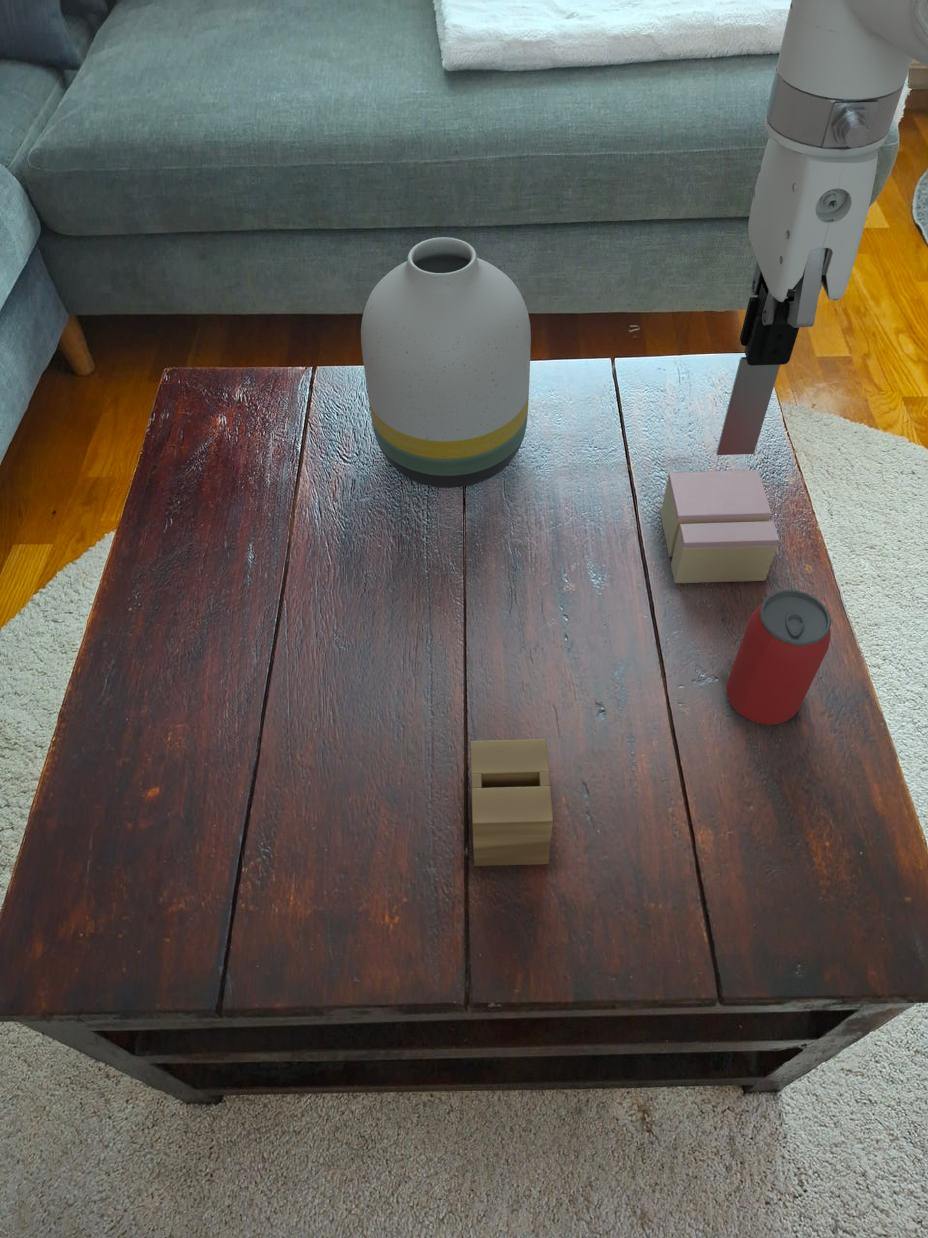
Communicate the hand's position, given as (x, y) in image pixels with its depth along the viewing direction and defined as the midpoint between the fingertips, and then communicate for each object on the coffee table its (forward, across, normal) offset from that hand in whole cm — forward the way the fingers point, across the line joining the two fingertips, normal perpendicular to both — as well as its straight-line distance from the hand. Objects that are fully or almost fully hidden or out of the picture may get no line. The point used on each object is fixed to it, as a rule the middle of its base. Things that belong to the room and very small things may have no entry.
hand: (763, 351), depth 72 cm
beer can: (+27, -15, -3) cm, 31 cm away
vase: (+27, +19, +25) cm, 41 cm away
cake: (+27, +5, -2) cm, 27 cm away
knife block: (+27, -26, +21) cm, 43 cm away
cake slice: (+27, 0, -2) cm, 27 cm away
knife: (+11, 0, 0) cm, 11 cm away
